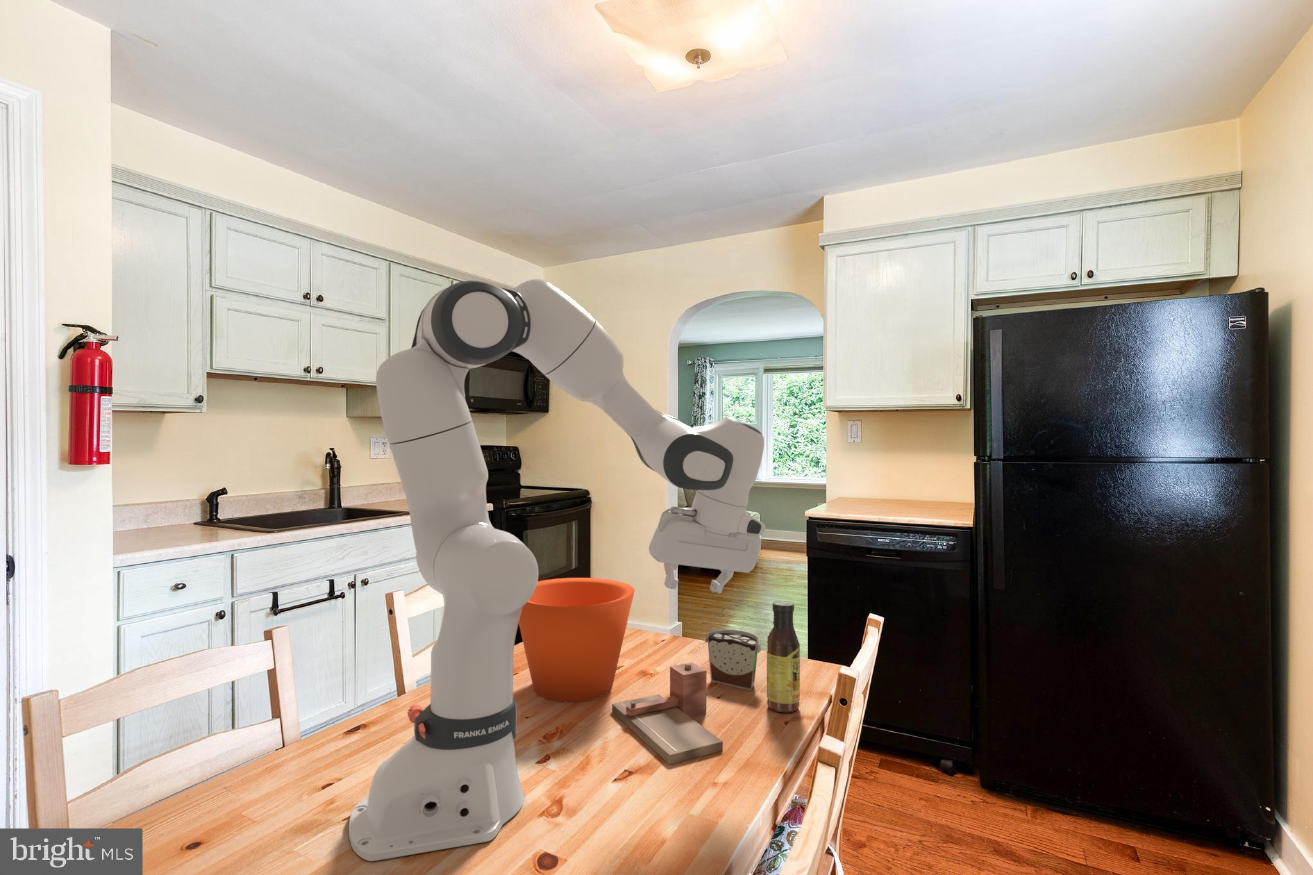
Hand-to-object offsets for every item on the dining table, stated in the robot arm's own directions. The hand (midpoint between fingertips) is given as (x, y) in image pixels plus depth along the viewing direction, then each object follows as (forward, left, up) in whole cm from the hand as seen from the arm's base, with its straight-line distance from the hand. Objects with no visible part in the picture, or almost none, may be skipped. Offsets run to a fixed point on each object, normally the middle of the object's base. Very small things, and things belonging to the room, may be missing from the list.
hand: (692, 589), depth 110 cm
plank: (-3, +5, -25) cm, 26 cm away
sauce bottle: (+22, +3, -26) cm, 34 cm away
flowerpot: (-10, +31, -26) cm, 41 cm away
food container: (+22, +18, -26) cm, 39 cm away
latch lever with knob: (0, +10, -26) cm, 27 cm away
